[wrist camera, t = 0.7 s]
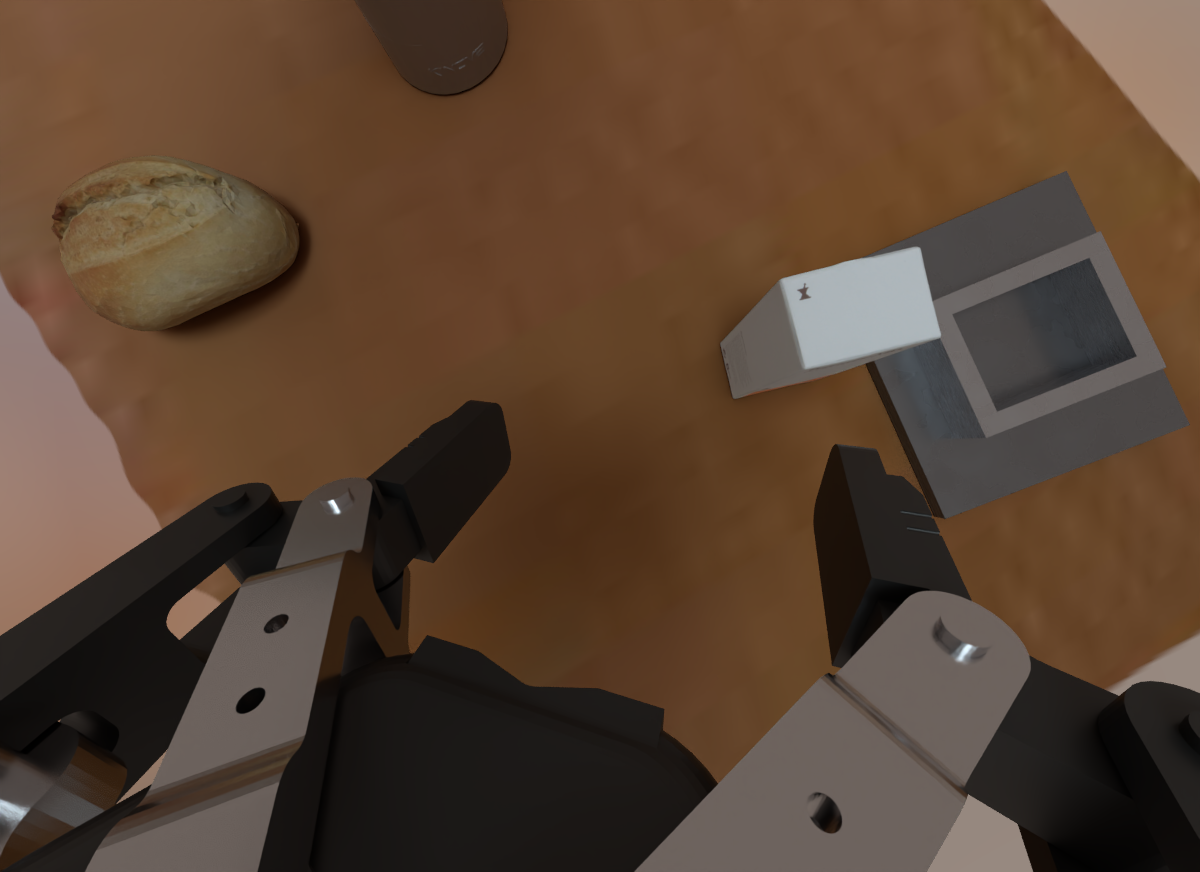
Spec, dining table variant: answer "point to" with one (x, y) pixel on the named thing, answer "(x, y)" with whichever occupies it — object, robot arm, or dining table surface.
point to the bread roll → (169, 240)
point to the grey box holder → (1022, 353)
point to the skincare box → (831, 322)
